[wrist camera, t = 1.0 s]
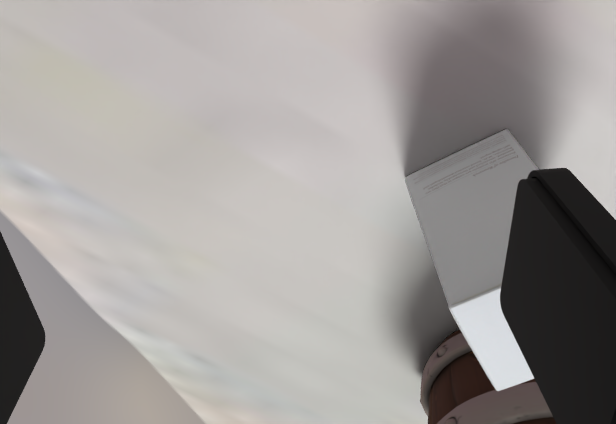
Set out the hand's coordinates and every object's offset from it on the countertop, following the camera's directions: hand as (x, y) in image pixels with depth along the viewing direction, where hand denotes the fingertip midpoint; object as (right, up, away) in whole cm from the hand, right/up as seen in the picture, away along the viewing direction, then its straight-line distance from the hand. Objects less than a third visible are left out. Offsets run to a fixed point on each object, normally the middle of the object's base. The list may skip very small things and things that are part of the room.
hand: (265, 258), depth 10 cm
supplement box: (+12, +2, +27) cm, 30 cm away
